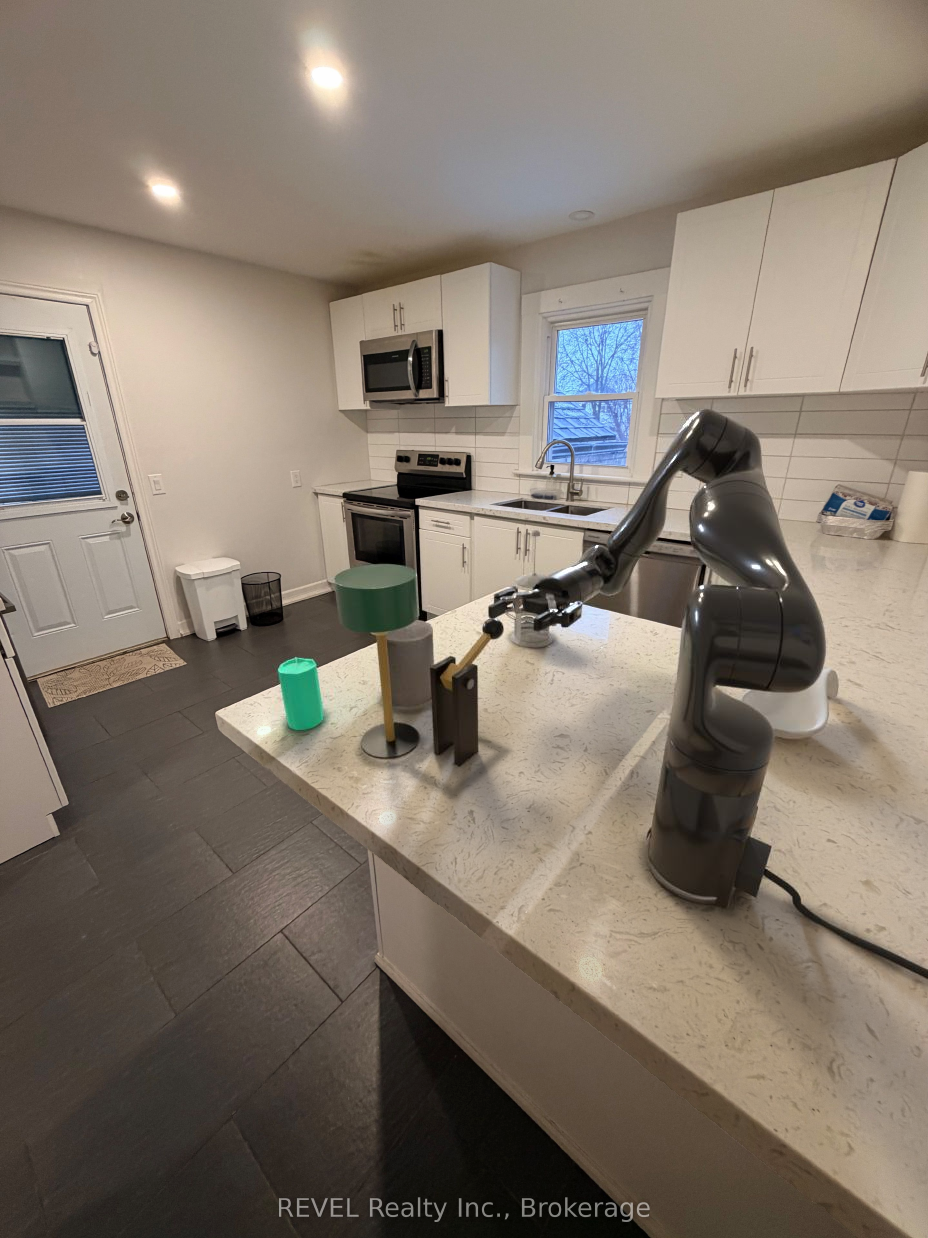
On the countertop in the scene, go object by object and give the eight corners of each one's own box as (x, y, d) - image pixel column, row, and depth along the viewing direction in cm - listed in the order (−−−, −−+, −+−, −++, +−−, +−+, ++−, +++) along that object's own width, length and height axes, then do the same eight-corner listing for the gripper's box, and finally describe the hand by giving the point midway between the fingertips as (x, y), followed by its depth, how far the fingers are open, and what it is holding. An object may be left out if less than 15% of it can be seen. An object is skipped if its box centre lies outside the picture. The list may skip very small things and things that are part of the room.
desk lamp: (459, 752, 75) (455, 578, 65) (407, 792, 68) (393, 601, 57) (393, 718, 84) (379, 559, 74) (340, 750, 76) (316, 578, 66)
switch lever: (492, 626, 76) (487, 611, 74) (509, 631, 74) (504, 616, 72) (443, 688, 70) (435, 674, 68) (460, 695, 68) (453, 681, 66)
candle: (313, 732, 81) (303, 667, 76) (280, 728, 82) (268, 664, 78) (329, 711, 87) (321, 650, 82) (298, 708, 88) (288, 647, 83)
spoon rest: (803, 761, 72) (815, 720, 69) (723, 725, 81) (731, 686, 78) (858, 705, 85) (871, 669, 83) (784, 679, 94) (793, 645, 91)
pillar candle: (373, 696, 91) (365, 621, 85) (416, 679, 97) (412, 607, 91) (402, 719, 84) (396, 639, 78) (447, 699, 90) (444, 623, 84)
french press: (556, 647, 109) (563, 535, 99) (503, 647, 109) (505, 535, 99) (550, 629, 118) (555, 524, 108) (501, 629, 118) (502, 525, 108)
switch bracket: (459, 729, 81) (457, 642, 75) (504, 751, 76) (505, 659, 70) (406, 768, 72) (399, 673, 66) (453, 795, 67) (449, 694, 61)
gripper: (530, 564, 91) (476, 587, 80) (602, 578, 83) (553, 606, 71) (529, 602, 94) (476, 630, 83) (598, 620, 86) (550, 653, 74)
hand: (512, 619), depth 77 cm, fingers open, 8 cm apart
